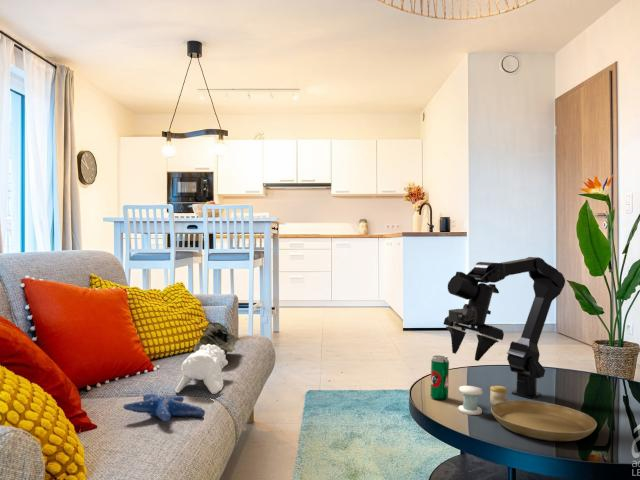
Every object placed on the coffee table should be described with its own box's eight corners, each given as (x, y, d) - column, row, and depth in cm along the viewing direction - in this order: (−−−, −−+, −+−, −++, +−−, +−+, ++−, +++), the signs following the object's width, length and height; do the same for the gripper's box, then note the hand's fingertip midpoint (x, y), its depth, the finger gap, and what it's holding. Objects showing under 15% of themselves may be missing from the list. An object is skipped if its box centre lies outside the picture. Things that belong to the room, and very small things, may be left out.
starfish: (195, 431, 114) (195, 410, 114) (114, 429, 115) (115, 407, 115) (213, 405, 133) (214, 386, 133) (144, 403, 133) (145, 384, 133)
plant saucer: (492, 406, 140) (492, 394, 140) (589, 419, 131) (589, 407, 131) (488, 436, 117) (488, 422, 117) (604, 454, 108) (604, 439, 108)
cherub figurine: (233, 345, 161) (220, 352, 141) (230, 384, 159) (216, 397, 140) (193, 342, 161) (174, 349, 141) (189, 382, 160) (170, 394, 140)
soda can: (448, 401, 142) (449, 359, 142) (430, 400, 143) (431, 358, 143) (447, 396, 147) (448, 355, 147) (430, 394, 148) (431, 354, 148)
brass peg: (495, 400, 145) (495, 384, 145) (509, 403, 141) (509, 388, 142) (487, 402, 142) (487, 387, 142) (501, 406, 139) (501, 391, 139)
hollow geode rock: (222, 362, 200) (197, 334, 201) (245, 341, 200) (221, 313, 200) (202, 379, 172) (173, 346, 173) (229, 354, 172) (200, 322, 173)
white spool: (466, 406, 138) (467, 384, 138) (486, 412, 134) (486, 389, 134) (454, 410, 134) (454, 388, 134) (474, 416, 130) (474, 393, 130)
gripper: (436, 292, 148) (422, 343, 146) (482, 300, 132) (467, 358, 130) (464, 302, 153) (451, 352, 151) (511, 311, 136) (497, 367, 134)
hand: (464, 356), depth 141 cm, fingers open, 9 cm apart
